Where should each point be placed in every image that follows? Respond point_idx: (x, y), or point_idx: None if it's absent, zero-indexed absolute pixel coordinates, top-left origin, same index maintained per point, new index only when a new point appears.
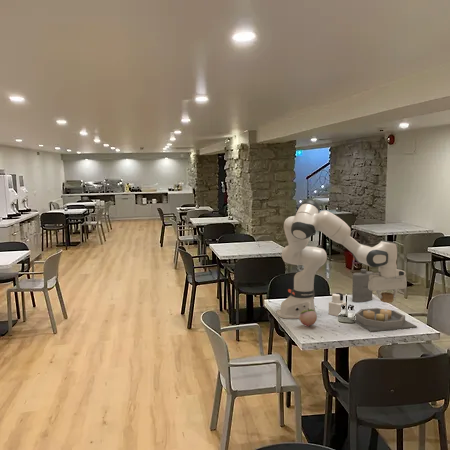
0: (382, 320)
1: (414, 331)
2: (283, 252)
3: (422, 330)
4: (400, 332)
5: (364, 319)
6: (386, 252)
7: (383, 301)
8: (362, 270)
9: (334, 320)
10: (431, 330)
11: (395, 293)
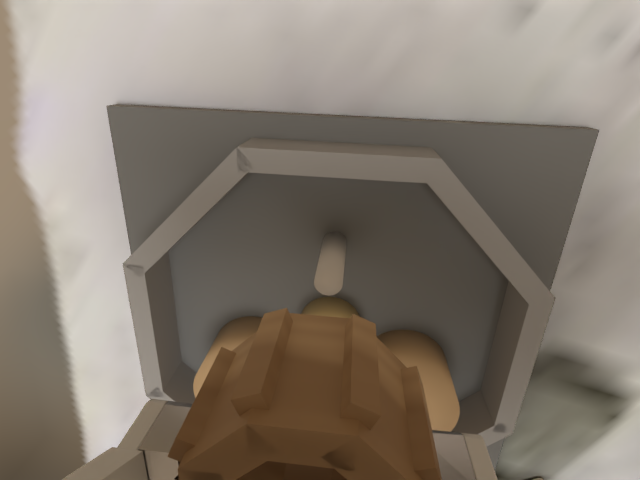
0: (328, 300)
1: (179, 25)
2: None
3: (94, 29)
4: (322, 38)
5: (550, 302)
6: None
7: (415, 367)
8: None
9: (633, 438)
10: (13, 3)
11: (107, 467)
